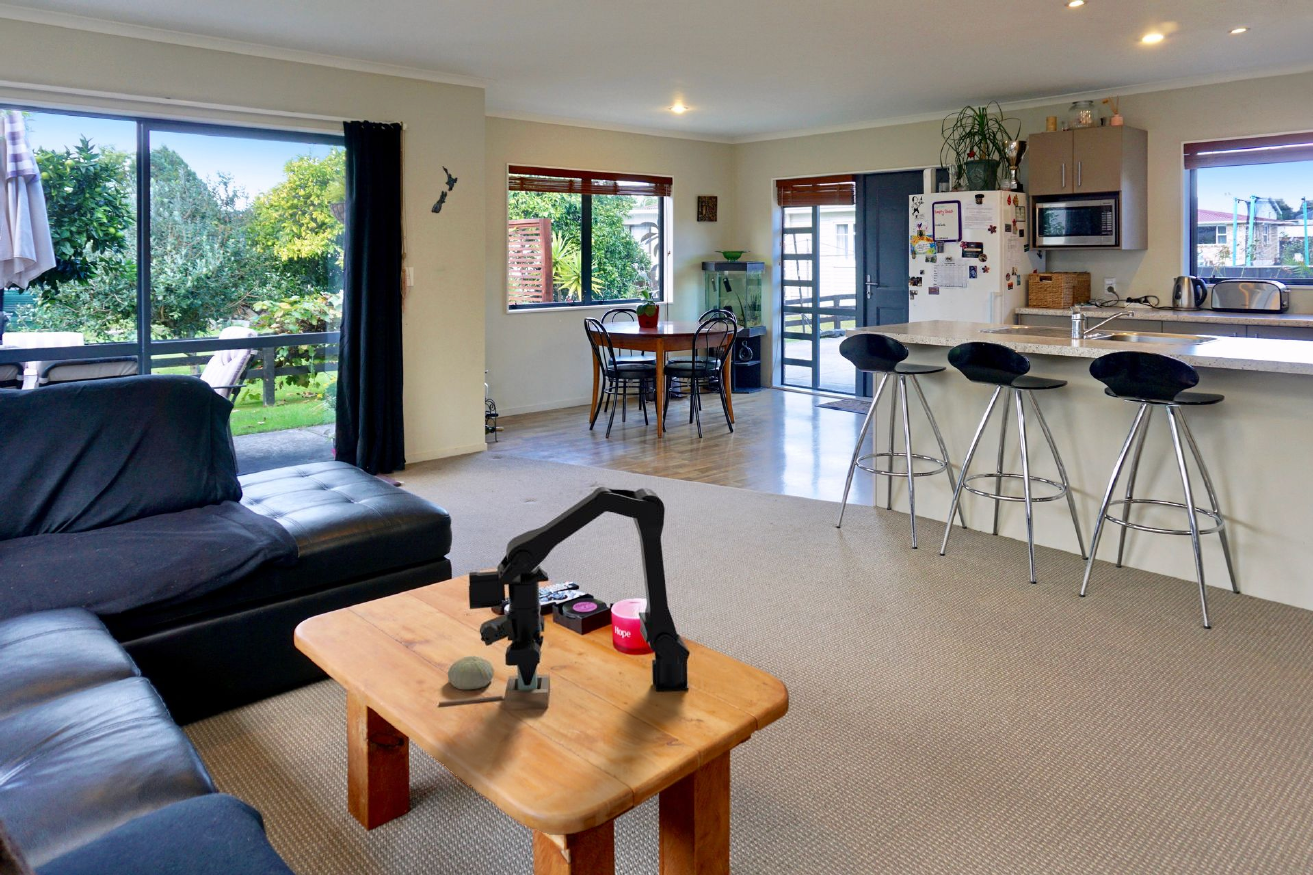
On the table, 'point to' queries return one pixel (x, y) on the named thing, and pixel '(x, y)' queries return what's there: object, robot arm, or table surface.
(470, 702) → the brown wooden rod
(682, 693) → the table surface
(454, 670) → the sea urchin shell
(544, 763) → the table surface
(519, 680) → the teal rectangular block
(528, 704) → the wooden socket block
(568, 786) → the table surface
